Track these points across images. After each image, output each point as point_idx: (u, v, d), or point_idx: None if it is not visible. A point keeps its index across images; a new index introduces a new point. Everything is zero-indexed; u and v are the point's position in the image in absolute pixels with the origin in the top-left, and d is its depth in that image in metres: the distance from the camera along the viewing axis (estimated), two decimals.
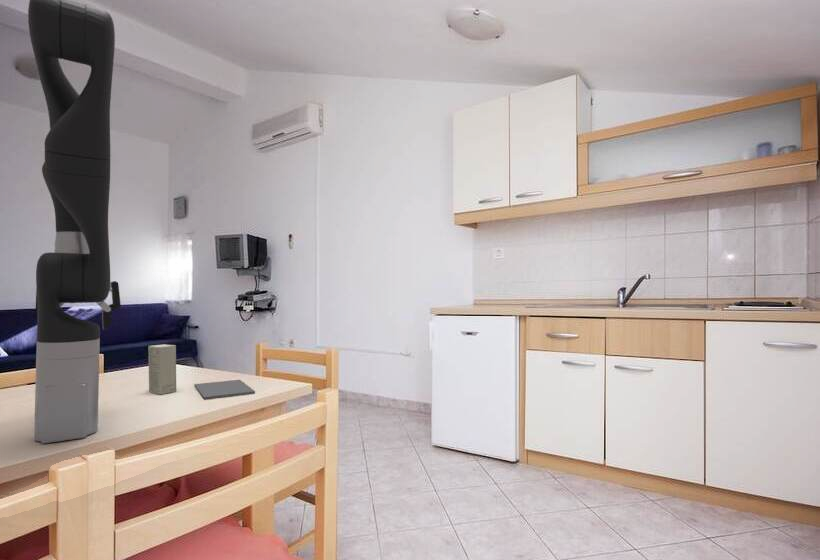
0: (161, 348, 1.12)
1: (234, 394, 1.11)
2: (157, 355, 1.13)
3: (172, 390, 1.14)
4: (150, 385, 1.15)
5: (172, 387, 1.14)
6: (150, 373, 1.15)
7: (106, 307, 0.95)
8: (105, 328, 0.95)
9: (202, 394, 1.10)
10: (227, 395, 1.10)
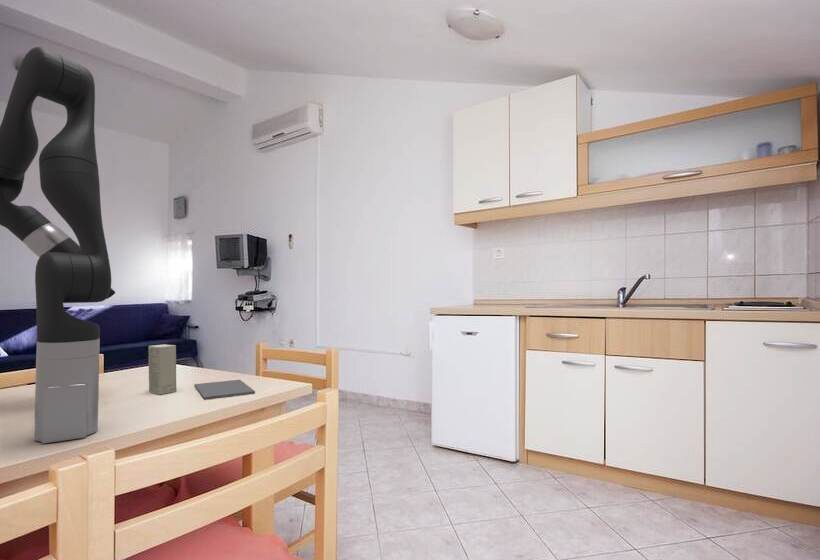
0: (161, 348, 1.12)
1: (234, 394, 1.11)
2: (157, 355, 1.13)
3: (172, 390, 1.14)
4: (150, 385, 1.15)
5: (172, 387, 1.14)
6: (150, 373, 1.15)
7: None
8: (114, 292, 1.14)
9: (202, 394, 1.10)
10: (227, 395, 1.10)
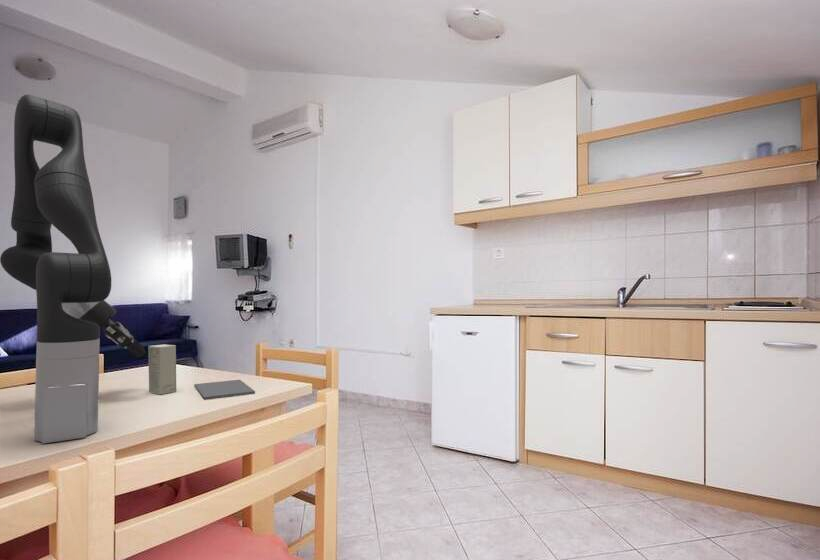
0: (161, 348, 1.12)
1: (234, 394, 1.11)
2: (157, 355, 1.13)
3: (172, 390, 1.14)
4: (150, 385, 1.15)
5: (172, 387, 1.14)
6: (150, 373, 1.15)
7: (130, 335, 1.16)
8: None
9: (202, 394, 1.10)
10: (227, 395, 1.10)
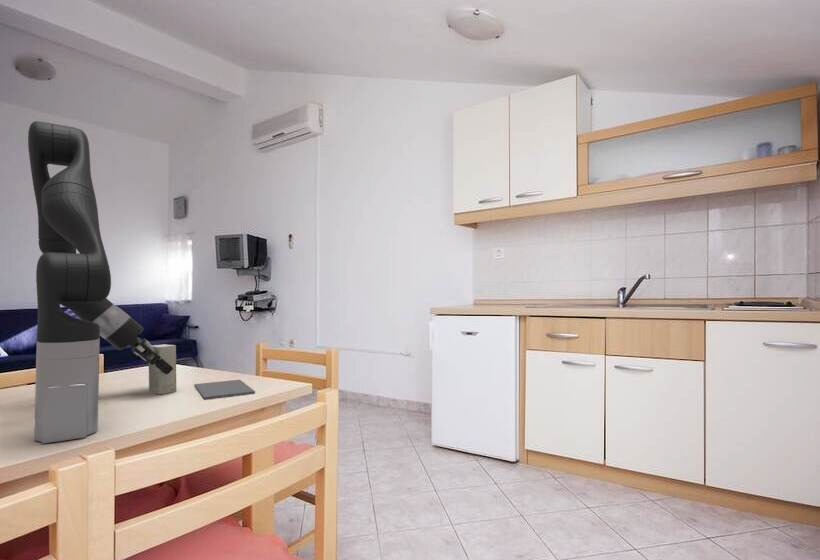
0: (161, 348, 1.12)
1: (234, 394, 1.11)
2: None
3: (172, 390, 1.14)
4: (150, 385, 1.15)
5: (172, 387, 1.14)
6: (150, 373, 1.15)
7: None
8: None
9: (202, 394, 1.10)
10: (227, 395, 1.10)
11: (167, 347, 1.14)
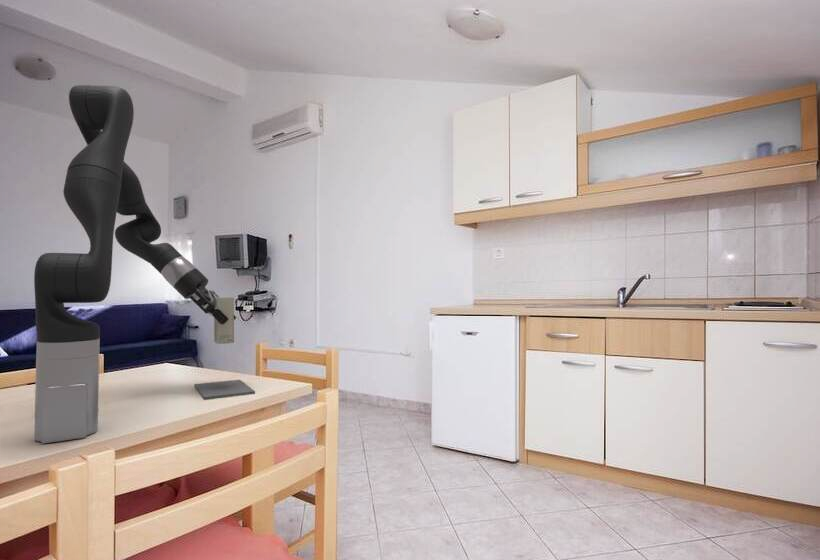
0: (218, 298, 1.15)
1: (234, 394, 1.11)
2: (216, 305, 1.16)
3: (229, 341, 1.16)
4: (214, 335, 1.19)
5: (229, 338, 1.16)
6: (214, 323, 1.19)
7: None
8: (235, 317, 1.22)
9: (202, 394, 1.10)
10: (227, 395, 1.10)
11: (224, 298, 1.16)
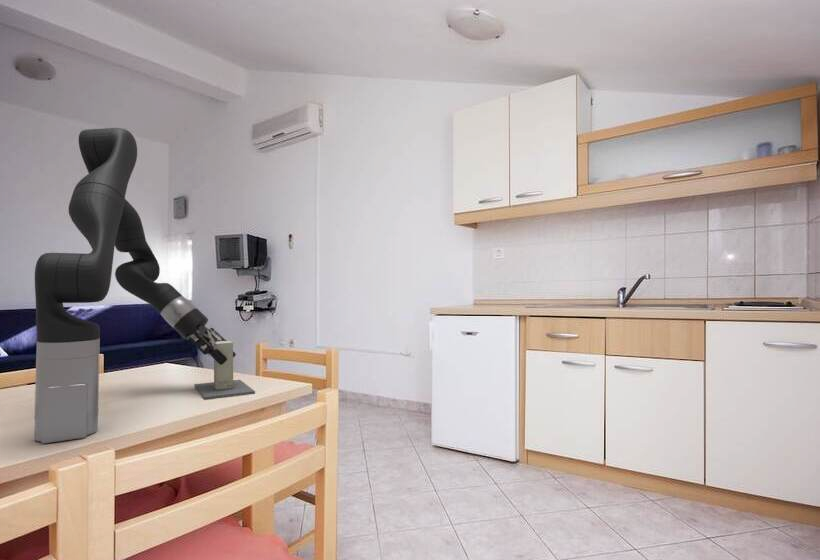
0: (217, 344, 1.15)
1: (234, 394, 1.11)
2: None
3: (228, 386, 1.16)
4: (214, 380, 1.19)
5: (228, 384, 1.16)
6: (214, 368, 1.19)
7: None
8: (235, 354, 1.22)
9: (202, 394, 1.10)
10: (227, 395, 1.10)
11: (223, 344, 1.16)
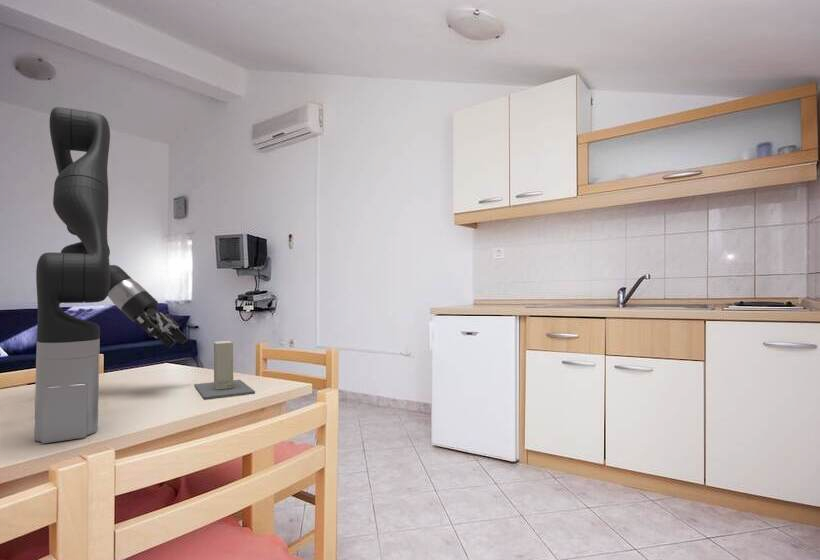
0: (217, 344, 1.15)
1: (234, 394, 1.11)
2: (215, 351, 1.16)
3: (228, 386, 1.16)
4: (214, 380, 1.19)
5: (228, 384, 1.16)
6: (214, 368, 1.19)
7: (175, 325, 1.21)
8: (187, 338, 1.21)
9: (202, 394, 1.10)
10: (227, 395, 1.10)
11: (223, 344, 1.16)
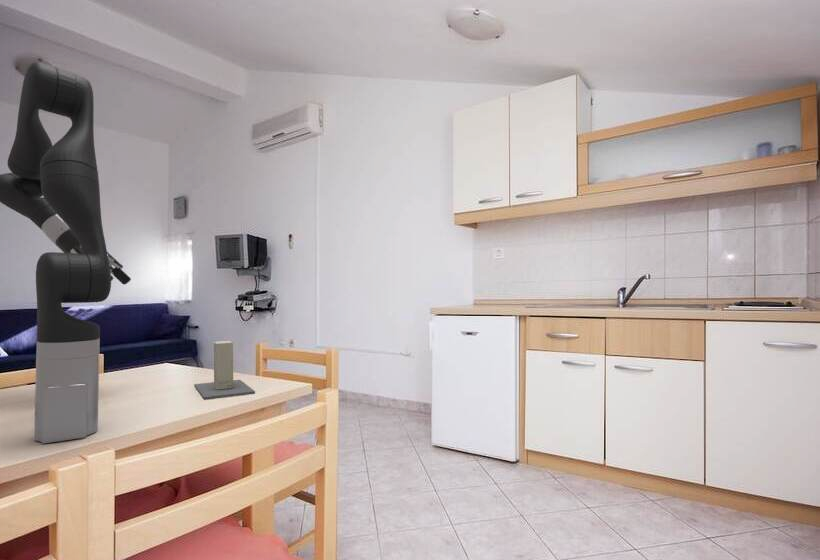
0: (217, 344, 1.15)
1: (234, 394, 1.11)
2: (215, 351, 1.16)
3: (228, 386, 1.16)
4: (214, 380, 1.19)
5: (228, 383, 1.16)
6: (214, 368, 1.19)
7: (118, 265, 1.14)
8: (129, 278, 1.14)
9: (202, 394, 1.10)
10: (227, 395, 1.10)
11: (223, 344, 1.16)
